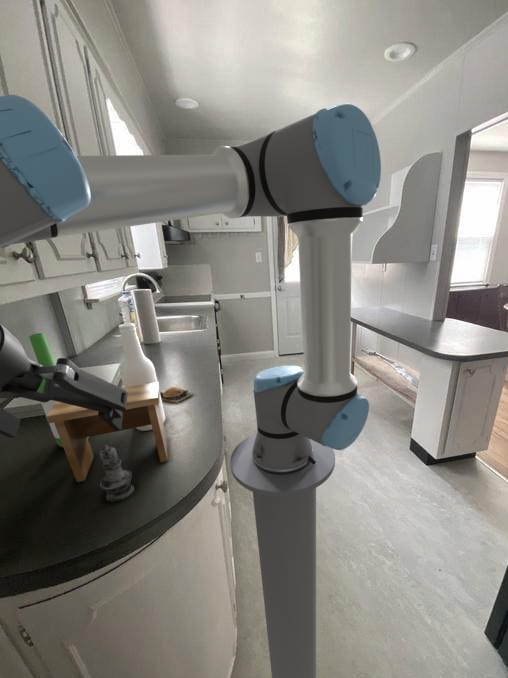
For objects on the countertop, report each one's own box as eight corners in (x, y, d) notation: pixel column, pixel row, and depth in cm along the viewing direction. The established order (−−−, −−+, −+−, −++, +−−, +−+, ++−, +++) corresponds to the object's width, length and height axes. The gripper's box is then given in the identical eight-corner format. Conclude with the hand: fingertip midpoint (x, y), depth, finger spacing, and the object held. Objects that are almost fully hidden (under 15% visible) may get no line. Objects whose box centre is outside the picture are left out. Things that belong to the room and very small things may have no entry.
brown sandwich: (194, 395, 110) (193, 385, 109) (176, 404, 103) (174, 394, 102) (173, 390, 115) (172, 381, 113) (155, 398, 108) (153, 389, 106)
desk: (172, 460, 74) (157, 397, 68) (71, 483, 67) (45, 416, 61) (170, 439, 83) (158, 382, 76) (82, 458, 76) (59, 397, 70)
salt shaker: (138, 481, 67) (125, 435, 63) (131, 500, 62) (116, 451, 57) (110, 484, 67) (95, 438, 62) (100, 504, 61) (82, 455, 57)
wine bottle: (93, 431, 88) (60, 329, 77) (87, 445, 82) (49, 336, 70) (62, 437, 86) (23, 333, 74) (53, 452, 79) (8, 340, 68)
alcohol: (153, 414, 97) (131, 320, 85) (172, 420, 93) (151, 322, 81) (128, 427, 90) (100, 326, 78) (147, 434, 86) (120, 329, 74)
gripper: (-282, 388, 22) (-42, 458, 40) (102, 376, 26) (157, 443, 45) (-218, 306, 25) (-24, 405, 43) (113, 308, 30) (160, 397, 48)
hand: (69, 425), depth 44 cm, fingers open, 13 cm apart
